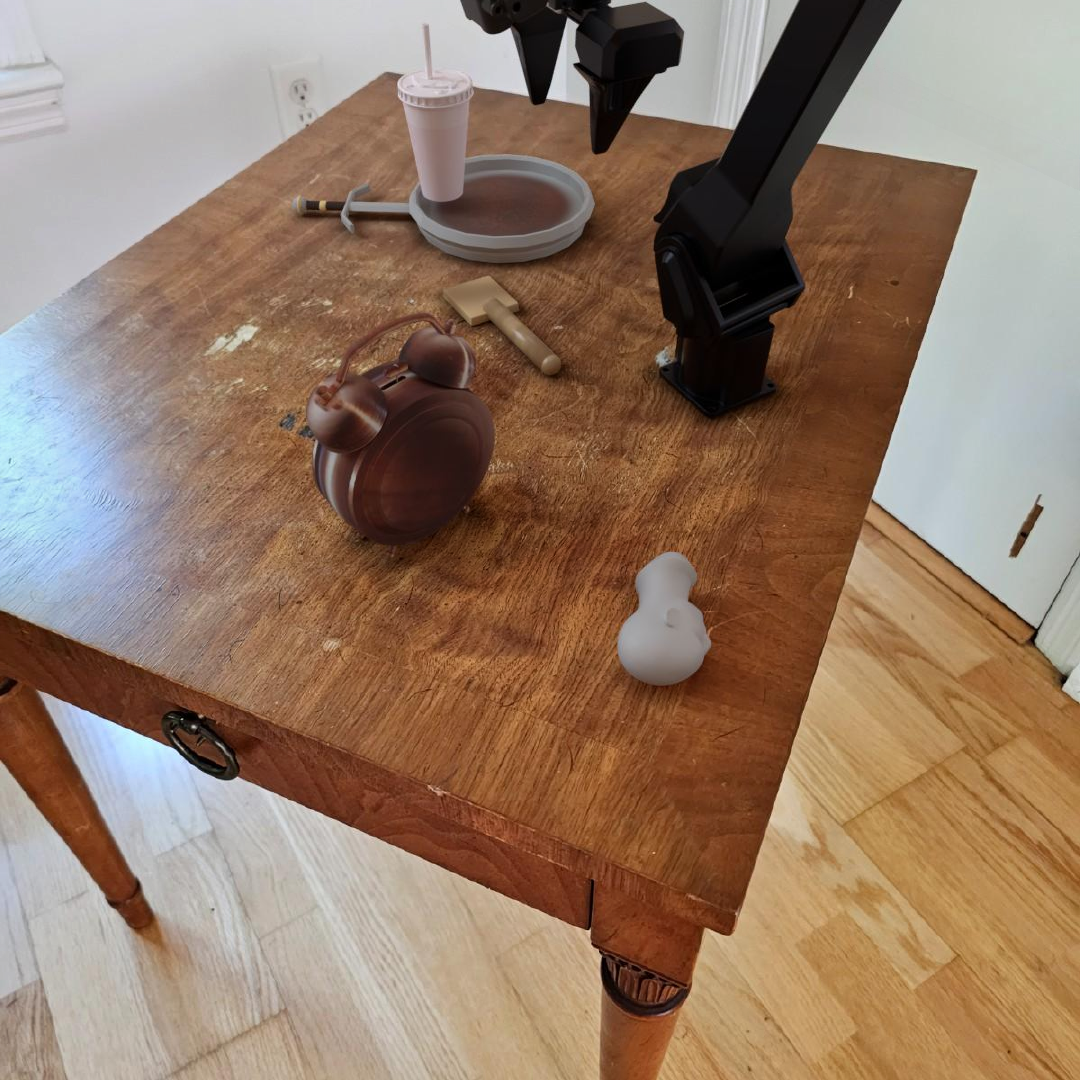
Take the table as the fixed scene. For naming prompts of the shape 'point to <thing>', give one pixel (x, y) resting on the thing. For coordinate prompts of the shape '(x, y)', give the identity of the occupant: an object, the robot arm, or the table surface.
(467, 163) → the frying pan
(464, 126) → the smoothie
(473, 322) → the spatula
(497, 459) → the table surface
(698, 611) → the smooth white sculpture
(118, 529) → the table surface
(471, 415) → the alarm clock
